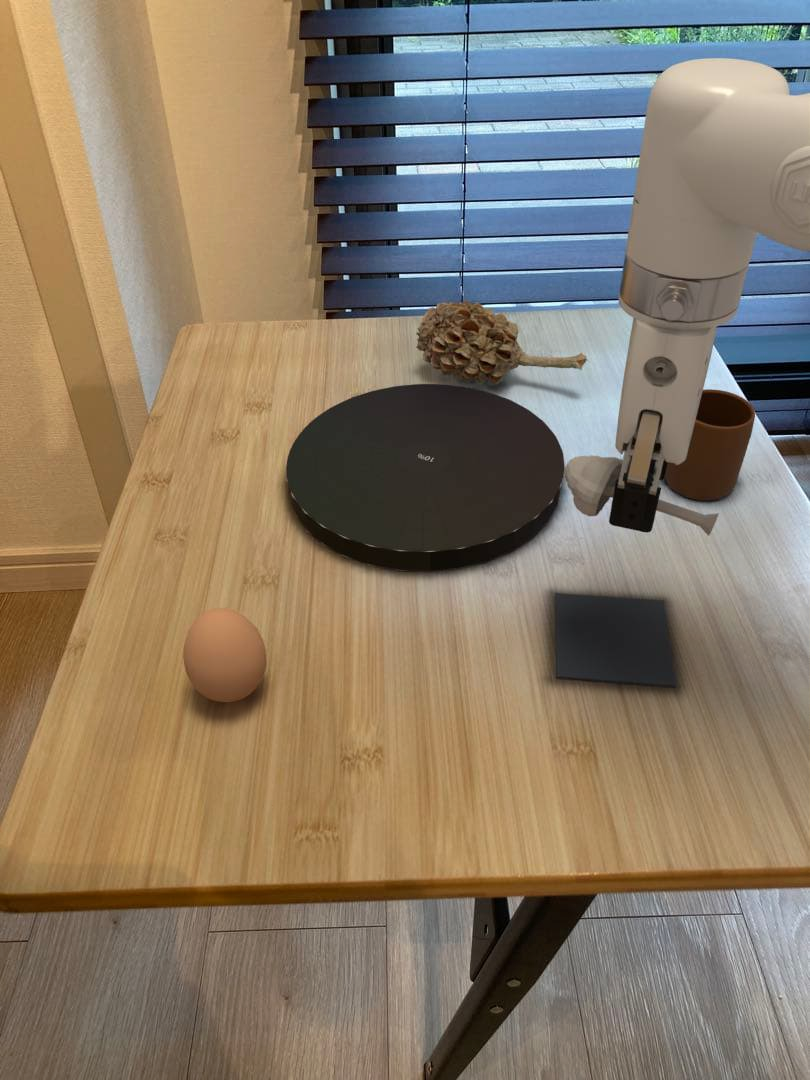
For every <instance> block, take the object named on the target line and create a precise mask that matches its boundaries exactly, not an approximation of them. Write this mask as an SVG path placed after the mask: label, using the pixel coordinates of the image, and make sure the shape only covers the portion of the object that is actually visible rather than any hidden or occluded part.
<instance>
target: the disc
mask: <svg viewBox="0 0 810 1080" xmlns="http://www.w3.org/2000/svg"><path fill="white" fill-rule="evenodd" d="M565 467H566V465H565V455H564V451H563V448H562V446H561V444H560V442H559V440H558V437H557V435H556V434H555V433H554V432H553V431H552V429H551V428H550V427H549V426H548V424H547V423H546V422H545V421H544V420H542V419H541V418H540V417H538V416H537V415H536V414H535V413H534V412H533V411H531V410H530V409H528V408H526V407H524V406H523V405H521V404H519V403H517V402H515V401H513V400H511V399H509V398H506V397H503V396H501V395H498V394H496V393H493V392H491V391H486V390H483V389H482V390H481V389H478V388H473V387H469V386H462V385H454V384H444V383H416V384H415V383H414V384H404V385H395V386H389V387H384V388H380V389H374V390H370V391H368V392H364V393H361V394H358V395H355V396H353V397H349V398H348V399H345V400H343V401H341V402H339V403H336V404H335V405H333V406H331V407H329V408H327V409H326V410H325V411H323V412H322V413H320V414H319V415H317V416H316V417H314V418H313V419H312V420H311V421H309V423H308V424H307V425H306V426H305V427H304V428H303V429H301V431H300V432H299V433H298V435H297V437H296V438H295V440H294V441H293V442H292V445H291V446H290V448H289V452H288V455H287V458H286V461H285V468H286V469H285V470H286V471H285V475H286V476H285V477H286V482H287V485H288V491H289V492H288V493H289V500H290V503H291V506H292V508H293V511H294V514H295V517H296V518H297V520H299V522H300V523H301V525H302V526H303V527H304V529H305V530H306V531H307V532H308V533H309V534H310V535H311V536H312V537H314V539H316V540H317V541H318V542H319V543H321V544H322V545H323V546H324V547H326V548H329V549H330V550H331V551H334V552H336V553H338V554H340V555H341V556H343V557H345V558H348V559H350V560H354V561H357V562H360V563H363V564H365V565H368V566H372V567H377V568H384V569H390V570H396V571H403V572H404V571H405V572H437V571H445V570H446V571H447V570H455V569H456V570H457V569H462V568H466V567H471V566H474V565H478V564H482V563H486V562H489V561H492V560H494V559H496V558H498V557H501V556H503V555H506V554H508V553H510V552H513V551H515V550H516V549H517V548H519V547H520V546H522V545H523V544H526V542H529V541H530V540H531V539H533V538H534V537H535V536H536V535H537V534H538V533H539V532H540V530H543V528H544V527H545V526H546V525H547V524H548V523H549V521H550V520H551V518H552V516H553V514H554V512H555V511H556V509H557V508H558V505H559V500H560V496H561V492H562V486H563V480H564V468H565Z"/></svg>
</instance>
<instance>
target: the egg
mask: <svg viewBox="0 0 810 1080" xmlns="http://www.w3.org/2000/svg"><path fill="white" fill-rule="evenodd" d="M182 654H183V655H182V657H183V664H184V669H185V673H186V675H187V678H188V680H189V681H190V683H191V685H192V686H193V687H194V688H195V689H196V690H197V692H198V693H200V694H201V695H202V696H204V697H206V699H210V700H212V701H215V702H218V703H234V702H237V701H240V700H243V699H245V698H247V697H248V696H249V695H251V694H252V693H253V691H255V690H256V689H257V688H258V687H259V685H260V683H261V682H262V680H263V678H264V676H265V672H266V669H267V664H268V663H267V650H266V646H265V642H264V639H263V637H262V635H261V633H260V631H259V629H258V628H257V627H256V625H254V624H253V622H251V621H250V620H249V618H247V616H245V615H243V614H242V613H240V612H238V611H237V610H234V609H232V608H228V607H217V608H212V609H209V610H206V611H205V612H203V613H201V614H200V615H199V616H198V617H196V619H195V620H194V621H193V623H191V626H190V627H189V629H188V631H187V633H186V637H185V641H184V645H183V651H182Z"/></svg>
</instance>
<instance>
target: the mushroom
mask: <svg viewBox="0 0 810 1080" xmlns="http://www.w3.org/2000/svg"><path fill="white" fill-rule="evenodd" d="M622 462H623V459H620V458H619V457H615V456H611V457H610V456H600V455H592V454H591V455H579V456H575V457H573V458H572V459H570V460H569V461H568V462H567V464H566V465H565V468H564V475H563V478H564V480H565V482H566V484H567V488H568V489H569V490H570V492H571V495H572V497H573V498H572V501H573V504H574V506H575V508H576V509H577V511H579V512H580V513H581V514H583V515H585V516H587V517H597V516H598V515H599V513H601V512H602V510H603V509H604V507H605V506H606V504H607V503H608V502H609V500H610V498H612V499H613V495H614V489H615V483H616V480H617V479H619V477H620V472H621V467H622ZM656 512H659V513H663V514H666V515H669V516H672V517H674V518H676V519H680V520H682V521H685V522H688V523H690V524H692V525H695V526H697V527H699V528H700V529H701V530H703V532H704V533H705V534H706V535H707V536H708V537H710V535H711V533H712V531H713V529H714V527H715V525H716V522H717V520H718V517H719V512H718V513H708V514H703V513H700V512H697V511H695V510H691V509H688V508H685V507H683V506H679V505H677V504H674V503H671V502H668V501H665V500H662V499H659V501H658V505H657V510H656Z"/></svg>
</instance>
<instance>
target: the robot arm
mask: <svg viewBox="0 0 810 1080" xmlns="http://www.w3.org/2000/svg"><path fill="white" fill-rule="evenodd" d="M645 112H646V113H645V119H644V125H643V133H642V138H641V144H640V152H639V159H638V166H637V172H636V179H635V186H634V191H633V192H634V193H633V198H632V205H631V212H630V218H629V225H628V232H627V239H626V244H625V245H626V246H625V251H624V259H623V265H622V270H621V271H622V272H621V278H620V285H619V291H618V304H619V306H620V308H621V309H622V310H623V311H624V312H625V313H626V314H627V315H628V316H630V317H631V318H632V323H631V330H630V336H629V339H628V341H629V342H628V347H627V353H626V359H625V360H626V361H625V365H624V366H625V367H624V373H623V379H622V386H621V394H620V400H619V409H618V410H619V411H618V416H617V426H616V435H615V446H614V447H615V449H616V450H617V452H618V453H619V454H620V455H623V457H622V460H623V462H622V467H621V472H620V477H619V479H617V480H616V483H615V489H614V495H613V498H612V500H611V507H610V513H609V518H608V523H609V524H610V525H611V526H614V527H618V528H622V529H628V530H633V531H639V532H642V533H651V532H652V531H653V527H654V522H655V518H656V513H657V505H658V501H659V500H660V495H661V491H662V487H661V486H659V484H660V481H663V480H664V479H665V473H666V469H667V464H668V462H670V463H675V465H679V464H681V463H682V462H684V461H685V459H686V456H687V452H688V448H689V444H690V440H691V436H692V432H693V428H694V424H695V420H696V416H697V412H698V408H699V404H700V399H701V396H702V392H703V390H704V389H705V388H704V387H705V383H706V378H707V374H708V370H709V366H710V363H711V362H710V361H711V357H712V353H713V350H714V344H715V338H716V334H717V328H718V327H720V326H723V325H725V324H727V323H729V322H730V321H731V320H733V319H734V317H736V315H737V313H738V309H739V305H740V302H741V297H742V293H743V289H744V285H745V281H746V278H747V273H748V270H749V266H750V261H751V258H752V254H753V251H754V248H755V247H754V246H755V242H756V238H757V235H758V234H759V235H761V236H763V237H765V238H767V239H770V240H772V241H774V242H776V243H778V244H781V245H784V246H787V247H789V248H792V249H794V250H798V251H803V252H808V253H810V92H808V93H804V94H803V93H802V94H797V95H796V94H795V95H794V94H793V95H792V94H790V86H789V83H788V81H787V79H786V77H785V76H784V75H783V74H782V73H781V72H780V70H777V69H775V68H773V67H771V66H769V65H766V64H764V63H762V62H761V63H760V62H757V61H752V60H747V59H739V58H727V57H726V58H724V57H716V58H715V57H713V58H712V57H711V58H710V57H708V58H696V59H691V60H686V61H683V62H679V63H676V64H673V65H671V66H669V67H668V68H667V69H665V70H664V71H662V73H660V74H659V76H658V77H657V78H656V79H655V82H654V83H653V86H652V88H651V91H650V93H649V97H648V101H647V108H646V111H645Z"/></svg>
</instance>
